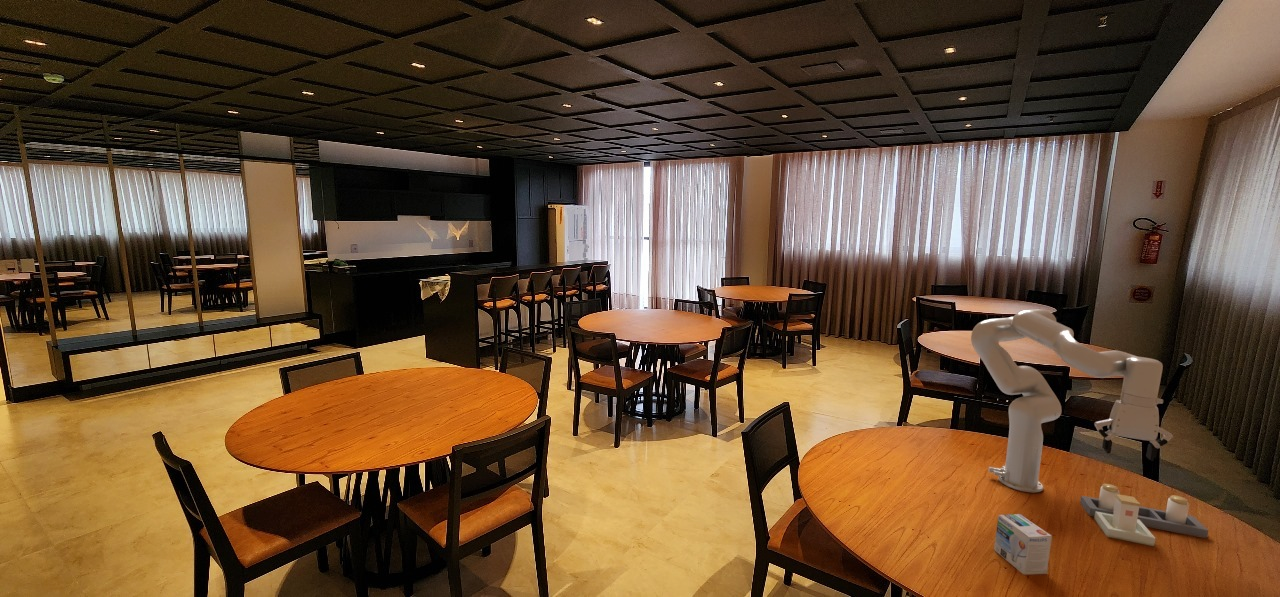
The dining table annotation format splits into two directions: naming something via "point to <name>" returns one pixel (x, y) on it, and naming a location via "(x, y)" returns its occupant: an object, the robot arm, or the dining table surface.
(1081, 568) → the dining table surface
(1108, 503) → the post
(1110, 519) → the tray
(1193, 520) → the holder
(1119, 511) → the block
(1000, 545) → the light bulb box
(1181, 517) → the post
